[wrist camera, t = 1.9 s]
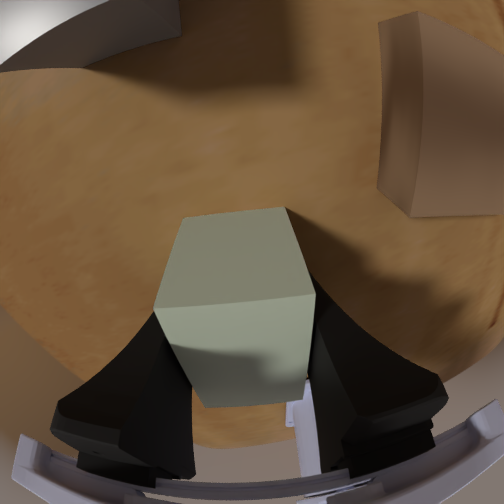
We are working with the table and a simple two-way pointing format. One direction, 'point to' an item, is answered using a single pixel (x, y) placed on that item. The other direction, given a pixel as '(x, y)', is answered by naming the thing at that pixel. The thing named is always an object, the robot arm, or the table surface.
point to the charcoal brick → (80, 30)
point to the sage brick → (239, 307)
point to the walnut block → (440, 119)
